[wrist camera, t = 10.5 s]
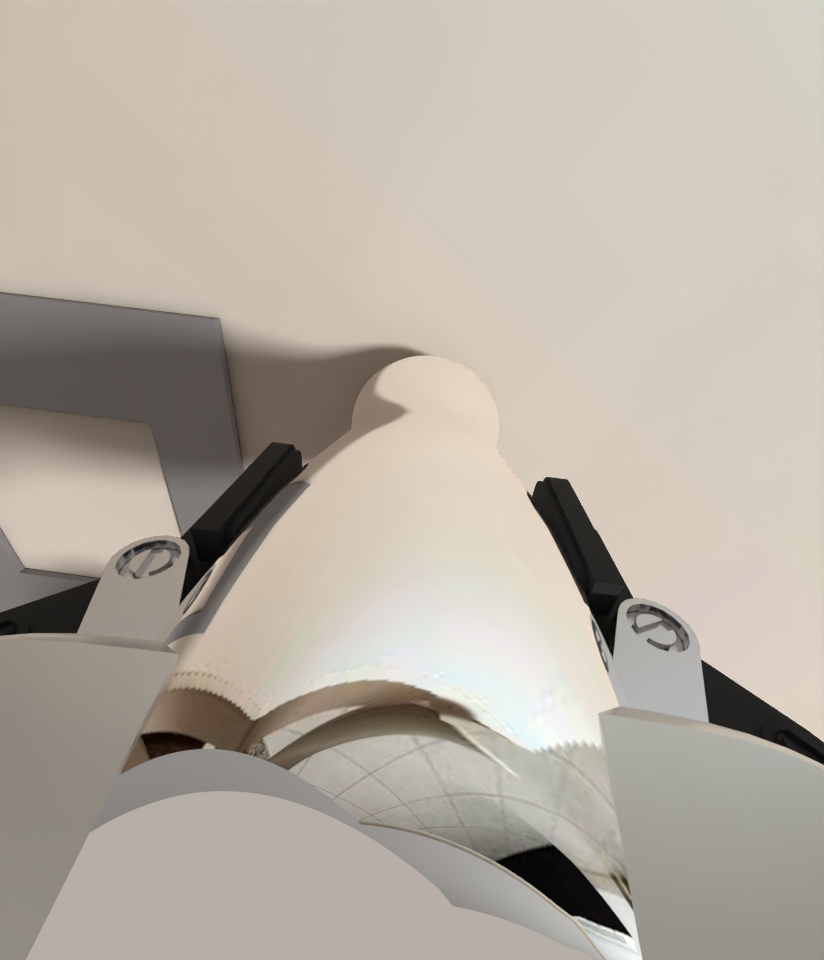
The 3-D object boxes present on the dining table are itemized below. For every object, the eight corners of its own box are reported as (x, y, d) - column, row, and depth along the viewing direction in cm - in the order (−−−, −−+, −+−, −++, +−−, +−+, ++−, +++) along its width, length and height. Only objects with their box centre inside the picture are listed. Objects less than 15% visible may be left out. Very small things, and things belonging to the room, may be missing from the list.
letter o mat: (271, 649, 27) (269, 654, 26) (1, 610, 27) (-5, 615, 27) (219, 318, 15) (213, 319, 15) (-244, 262, 16) (-259, 263, 16)
